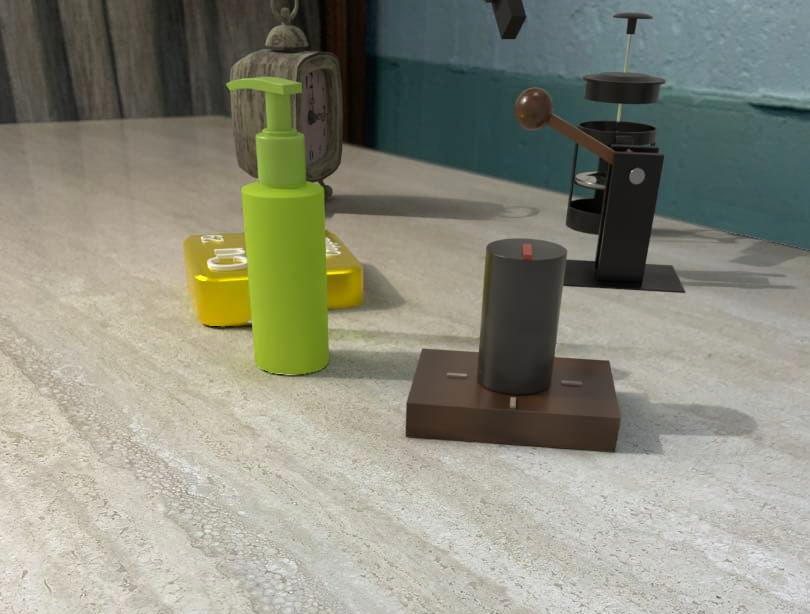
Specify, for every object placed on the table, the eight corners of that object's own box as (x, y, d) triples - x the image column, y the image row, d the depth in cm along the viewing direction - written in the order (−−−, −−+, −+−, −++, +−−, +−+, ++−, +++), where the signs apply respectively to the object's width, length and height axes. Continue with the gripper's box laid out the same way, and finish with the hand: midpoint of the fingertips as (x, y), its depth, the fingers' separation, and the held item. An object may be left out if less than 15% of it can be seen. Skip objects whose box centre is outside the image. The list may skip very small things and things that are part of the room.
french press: (558, 222, 109) (583, 9, 97) (633, 225, 109) (668, 11, 96) (567, 247, 100) (596, 14, 87) (650, 250, 99) (691, 16, 86)
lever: (506, 120, 79) (527, 81, 77) (507, 115, 82) (527, 77, 80) (636, 199, 81) (660, 163, 79) (633, 191, 84) (655, 156, 82)
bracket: (557, 296, 84) (574, 155, 77) (555, 270, 92) (570, 139, 85) (682, 304, 83) (711, 161, 76) (670, 276, 91) (695, 144, 84)
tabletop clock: (300, 220, 108) (289, -20, 94) (235, 213, 110) (215, -22, 96) (344, 196, 119) (340, -20, 105) (284, 191, 121) (273, -22, 108)
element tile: (368, 317, 78) (368, 264, 76) (200, 330, 74) (193, 274, 72) (332, 270, 90) (331, 222, 87) (185, 279, 86) (179, 230, 84)
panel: (604, 391, 66) (610, 358, 64) (615, 452, 57) (621, 415, 56) (421, 379, 67) (422, 346, 65) (405, 436, 58) (406, 400, 57)
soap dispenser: (280, 339, 73) (263, 71, 62) (344, 359, 70) (338, 79, 59) (230, 360, 69) (202, 77, 58) (295, 381, 66) (279, 86, 55)
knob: (477, 363, 63) (487, 231, 58) (549, 367, 63) (565, 235, 57) (475, 392, 59) (485, 252, 53) (552, 396, 58) (570, 256, 53)
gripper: (500, -140, 90) (558, 57, 86) (381, -148, 86) (437, 58, 82) (529, -216, 83) (593, -4, 79) (400, -228, 79) (462, -6, 75)
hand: (513, 27), depth 81 cm, fingers closed
